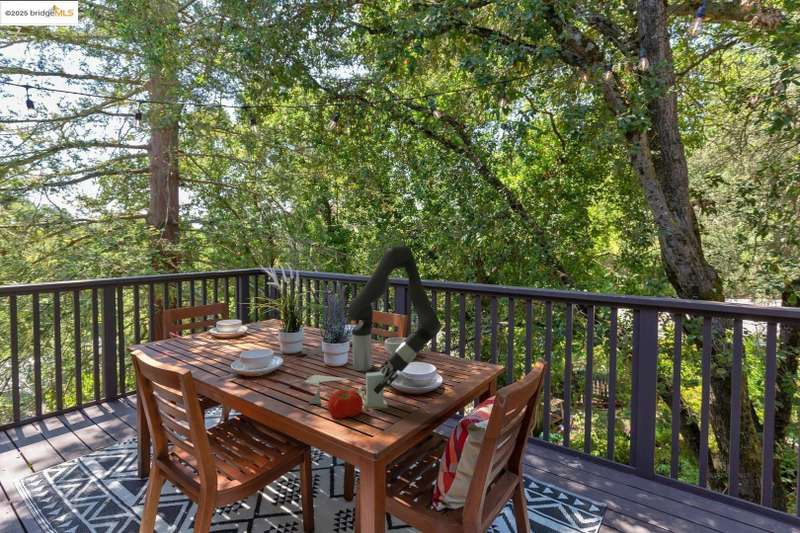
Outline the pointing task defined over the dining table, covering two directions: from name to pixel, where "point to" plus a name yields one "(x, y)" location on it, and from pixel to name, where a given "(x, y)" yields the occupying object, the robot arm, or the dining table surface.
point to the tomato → (345, 404)
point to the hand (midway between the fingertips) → (373, 388)
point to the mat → (316, 399)
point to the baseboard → (321, 379)
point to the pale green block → (371, 383)
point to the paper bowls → (393, 344)
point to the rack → (366, 404)
